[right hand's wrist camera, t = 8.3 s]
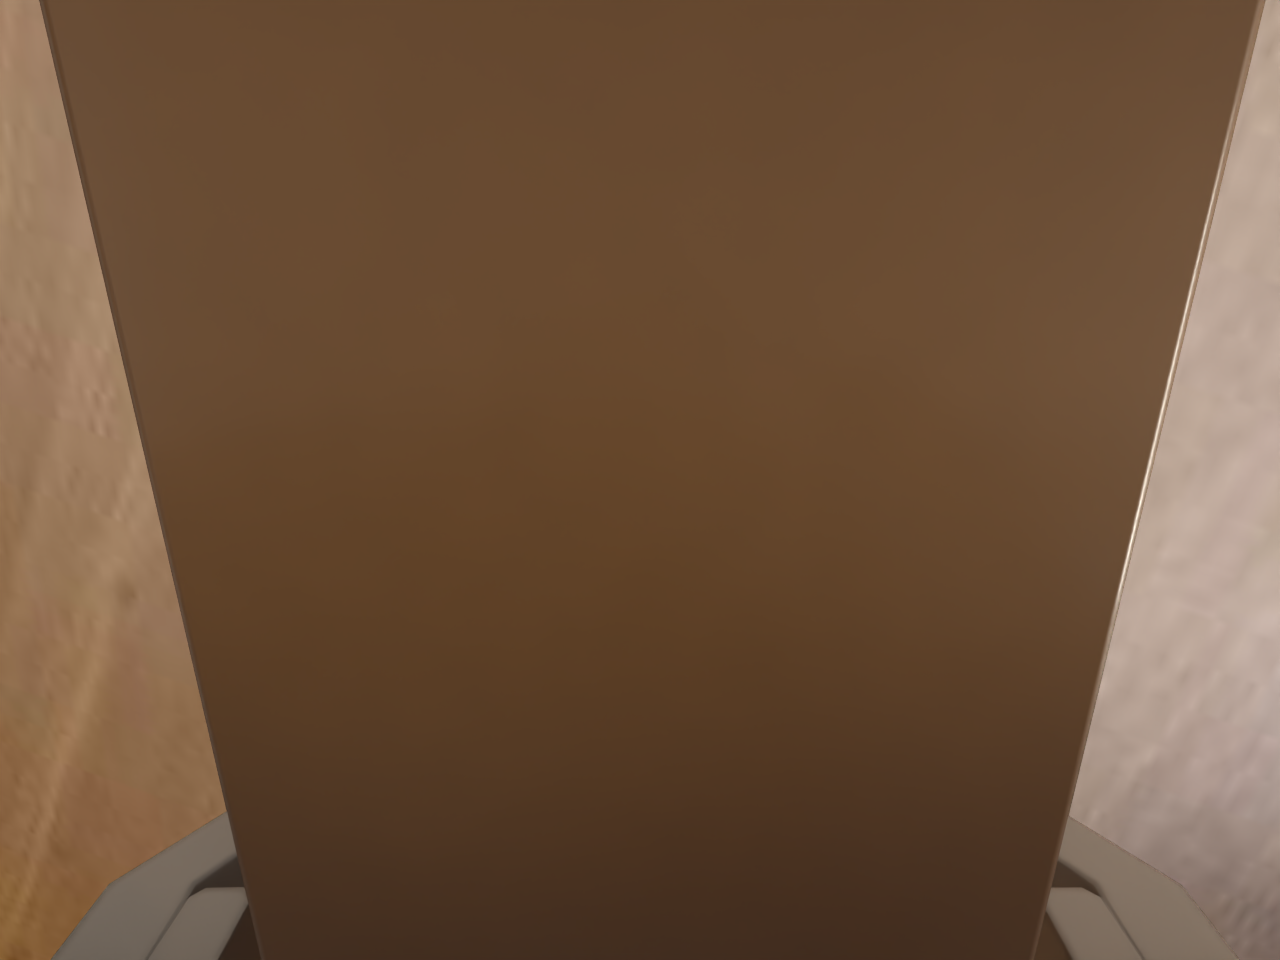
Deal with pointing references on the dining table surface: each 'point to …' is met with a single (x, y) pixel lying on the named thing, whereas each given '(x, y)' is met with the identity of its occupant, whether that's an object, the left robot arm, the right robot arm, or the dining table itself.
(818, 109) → the bar
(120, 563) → the dining table surface
